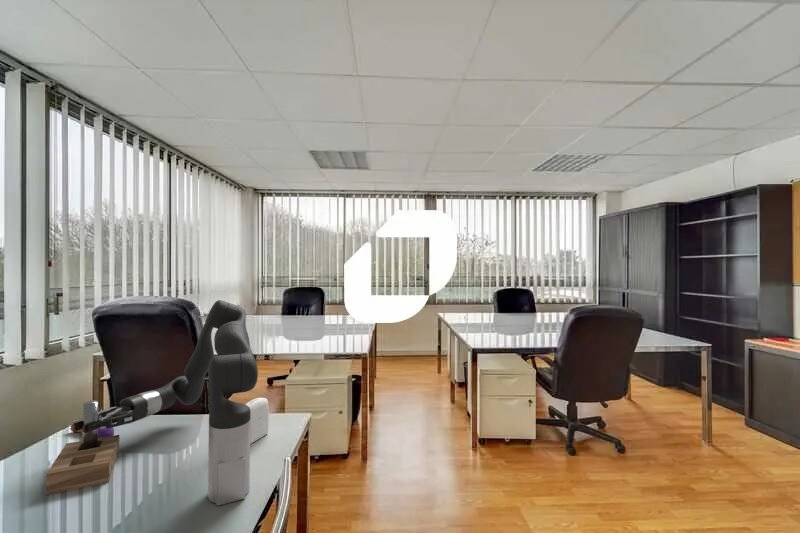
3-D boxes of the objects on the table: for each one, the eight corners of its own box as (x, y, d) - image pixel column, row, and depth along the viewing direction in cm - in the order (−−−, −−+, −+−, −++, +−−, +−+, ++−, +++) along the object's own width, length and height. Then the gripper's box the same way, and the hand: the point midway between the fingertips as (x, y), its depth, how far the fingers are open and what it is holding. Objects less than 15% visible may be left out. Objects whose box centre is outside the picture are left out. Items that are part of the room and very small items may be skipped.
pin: (96, 454, 105) (97, 403, 105) (81, 457, 104) (82, 405, 104) (98, 449, 108) (99, 399, 108) (84, 452, 107) (84, 401, 107)
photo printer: (248, 446, 117) (248, 406, 117) (236, 444, 118) (237, 404, 118) (270, 433, 127) (271, 395, 127) (259, 431, 128) (260, 393, 128)
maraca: (89, 415, 130) (119, 423, 120) (85, 434, 128) (116, 444, 119) (67, 418, 125) (97, 426, 115) (63, 437, 123) (93, 447, 114)
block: (108, 482, 97) (109, 462, 97) (45, 495, 91) (46, 474, 91) (119, 451, 113) (119, 434, 113) (66, 461, 107) (66, 443, 107)
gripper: (124, 391, 122) (61, 410, 105) (157, 396, 117) (97, 417, 101) (124, 415, 122) (61, 438, 105) (157, 421, 117) (96, 446, 101)
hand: (79, 428), depth 103 cm, fingers closed on pin, 3 cm apart
